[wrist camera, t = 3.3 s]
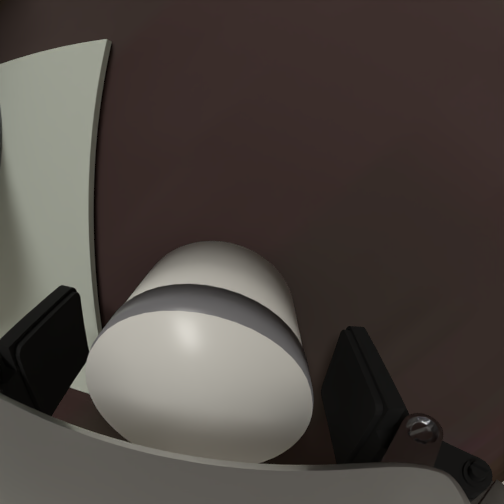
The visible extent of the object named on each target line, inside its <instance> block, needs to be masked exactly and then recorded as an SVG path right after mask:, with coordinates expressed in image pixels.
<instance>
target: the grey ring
mask: <svg viewBox="0 0 504 504" xmlns="http://www.w3.org/2000/svg"><path fill="white" fill-rule="evenodd" d="M1 153H2V118H1V107H0V166H1Z"/></svg>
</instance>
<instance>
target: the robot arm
mask: <svg viewBox="0 0 504 504" xmlns="http://www.w3.org/2000/svg"><path fill="white" fill-rule="evenodd" d="M88 354H89V348H88V342H87V337H86V331H85V325H84V319H83V312H82V305H81V297H80V294H79V293H78V292H77V290H76V289H75V288H73V287H69V286H64V285H61V286H59V287H58V288H57V289H55V290H54V291H53V292H52V293H51V294H49V295H48V296H47V297H46V298H45V299H44V300H42V301H41V302H40V303H39V304H38V305H37V306H35V307H34V308H33V309H32V310H31V311H30V312H29V313H28V314H26V315H25V316H24V317H23V318H22V319H21V320H20V321H19V322H18V323H17V324H15V325H14V326H13V327H12V328H11V329H10V330H9V331H8V332H7V333H6V334H5V335H4V336H3V337H2V338H1V339H0V504H504V485H503V484H502V483H501V482H500V481H498V480H496V481H495V482H493V481H492V471H491V469H490V467H489V465H488V464H487V463H486V462H485V461H483V460H482V459H480V458H478V457H476V456H473V455H471V454H469V453H467V452H465V451H463V450H460V449H458V448H456V447H454V446H452V445H450V444H448V443H446V442H444V441H442V440H443V430H442V427H441V425H440V424H439V422H437V421H436V420H435V419H434V418H432V417H431V416H429V415H426V414H423V413H414V414H410V415H409V413H408V411H407V409H406V406H405V404H404V402H403V400H402V398H401V396H400V394H399V392H398V390H397V388H396V386H395V384H394V382H393V380H392V378H391V376H390V374H389V372H388V371H387V369H386V367H385V365H384V363H383V361H382V359H381V357H380V355H379V353H378V351H377V350H376V348H375V346H374V344H373V342H372V340H371V338H370V337H369V335H368V333H367V331H366V329H365V328H364V327H354V326H348V327H347V328H346V330H342V331H341V333H340V336H339V339H338V342H337V345H336V348H335V351H334V354H333V357H332V360H331V363H330V366H329V368H328V371H327V374H326V377H325V379H324V382H323V385H322V389H321V395H322V400H323V404H324V408H325V413H326V417H327V422H328V426H329V431H330V435H331V440H332V444H333V449H334V454H335V458H336V463H337V464H331V465H278V464H258V463H244V462H234V461H224V460H216V459H209V458H202V457H195V456H189V455H183V454H178V453H172V452H167V451H163V450H158V449H153V448H149V447H145V446H141V445H137V444H133V443H129V442H125V441H122V440H118V439H115V438H111V437H108V436H105V435H101V434H98V433H95V432H92V431H89V430H86V429H83V428H80V427H77V426H75V425H72V424H69V423H67V422H64V421H61V420H59V419H56V418H54V417H51V416H52V414H53V413H54V411H55V409H56V408H57V406H58V405H59V403H60V401H61V400H62V398H63V397H64V395H65V394H66V392H67V390H68V389H69V387H70V386H71V384H72V383H73V381H74V380H75V378H76V377H77V375H78V374H79V372H80V371H81V369H82V368H83V366H84V365H85V363H86V362H87V358H88Z"/></svg>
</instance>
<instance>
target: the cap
mask: <svg viewBox="0 0 504 504" xmlns="http://www.w3.org/2000/svg"><path fill="white" fill-rule="evenodd" d="M85 374H86V383H87V388H88V391H89V393H90V396H91V398H92V400H93V402H94V404H95V406H96V408H97V409H98V411H99V412H100V414H101V415H102V416H103V418H104V419H105V420H106V421H107V422H108V423H109V424H110V425H111V426H112V427H113V428H114V429H115V430H116V431H117V432H118V433H119V434H121V435H122V436H123V437H124V438H126V439H127V440H128V441H130V442H131V443H133V444H137V445H141V446H145V447H149V448H153V449H158V450H163V451H167V452H172V453H178V454H183V455H189V456H195V457H202V458H209V459H216V460H224V461H234V462H244V463H261V462H264V461H267V460H269V459H272V458H274V457H276V456H278V455H280V454H282V453H283V452H285V451H286V450H288V449H289V448H290V447H292V446H293V445H294V444H295V443H296V442H297V441H298V440H299V439H300V438H301V436H302V435H303V434H304V433H305V431H306V429H307V427H308V425H309V423H310V420H311V417H312V411H313V403H314V397H313V389H312V383H311V378H310V373H309V368H308V363H307V358H306V355H305V352H304V349H303V347H302V342H301V337H300V332H299V327H298V322H297V317H296V312H295V307H294V302H293V298H292V295H291V292H290V289H289V287H288V285H287V283H286V281H285V280H284V278H283V277H282V275H281V274H280V272H279V271H278V270H277V269H276V268H275V267H274V266H273V265H272V264H271V263H270V262H269V261H267V260H266V259H265V258H264V257H262V256H260V255H259V254H257V253H256V252H254V251H252V250H250V249H247V248H245V247H242V246H239V245H236V244H233V243H228V242H221V241H201V242H196V243H191V244H187V245H184V246H182V247H179V248H177V249H175V250H173V251H171V252H170V253H168V254H167V255H165V256H164V257H163V258H162V259H161V260H160V261H159V262H158V263H156V265H155V266H154V267H153V268H152V270H151V271H150V272H149V273H148V275H147V276H146V277H145V278H144V280H143V281H142V282H141V283H140V285H139V286H138V287H137V288H136V290H135V291H134V292H133V293H132V295H131V296H130V297H129V299H128V300H127V301H126V302H125V303H124V304H123V305H122V306H121V307H120V308H119V309H118V310H117V311H116V312H115V314H114V315H113V316H112V318H111V319H110V320H109V322H108V323H107V324H106V326H105V327H104V328H103V330H102V331H101V332H100V334H99V335H98V336H97V338H96V339H95V341H94V342H93V344H92V346H91V349H90V351H89V354H88V358H87V362H86V368H85Z"/></svg>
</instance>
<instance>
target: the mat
mask: <svg viewBox="0 0 504 504" xmlns="http://www.w3.org/2000/svg"><path fill="white" fill-rule="evenodd" d="M111 43H112V42H111V41H109V40H108V39H104V40H97V41H91V42H85V43H79V44H74V45H69V46H64V47H59V48H55V49H51V50H47V51H43V52H39V53H35V54H31V55H28V56H24V57H21V58H18V59H15V60H11V61H8V62H5V63H2V64H0V107H1V118H2V153H1V166H0V339H1V338H2V337H3V336H4V335H5V334H6V333H7V332H8V331H9V330H10V329H11V328H12V327H13V326H14V325H15V324H17V323H18V322H19V321H20V320H21V319H22V318H23V317H24V316H25V315H26V314H28V313H29V312H30V311H31V310H32V309H33V308H34V307H35V306H37V305H38V304H39V303H40V302H41V301H42V300H44V299H45V298H46V297H47V296H48V295H49V294H51V293H52V292H53V291H54V290H55V289H57V288H58V287H59V286H61V285H64V286H69V287H73V288H75V289H76V290H77V292H78V293H79V294H80V297H81V305H82V312H83V319H84V325H85V331H86V337H87V342H88V348H89V351H90V349H91V346H92V344H93V342H94V341H95V339H96V338H97V336H98V335H99V334H100V332H101V331H102V326H101V319H100V311H99V302H98V292H97V281H96V268H95V251H94V172H95V155H96V142H97V131H98V121H99V113H100V105H101V98H102V91H103V85H104V79H105V73H106V68H107V62H108V57H109V52H110V48H111ZM85 368H86V363H85V365H84V366H83V368H82V369H81V371H80V372H79V374H78V375H77V377H76V378H75V380H74V381H73V383H72V384H71V386H70V387H71V388H74V389H77V390H80V391H82V392H86V393H89V391H88V388H87V383H86V374H85ZM89 394H90V393H89Z"/></svg>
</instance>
